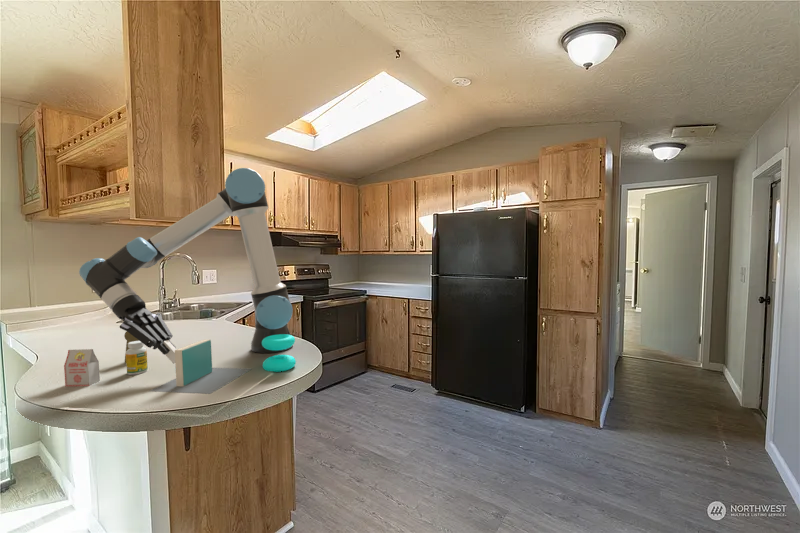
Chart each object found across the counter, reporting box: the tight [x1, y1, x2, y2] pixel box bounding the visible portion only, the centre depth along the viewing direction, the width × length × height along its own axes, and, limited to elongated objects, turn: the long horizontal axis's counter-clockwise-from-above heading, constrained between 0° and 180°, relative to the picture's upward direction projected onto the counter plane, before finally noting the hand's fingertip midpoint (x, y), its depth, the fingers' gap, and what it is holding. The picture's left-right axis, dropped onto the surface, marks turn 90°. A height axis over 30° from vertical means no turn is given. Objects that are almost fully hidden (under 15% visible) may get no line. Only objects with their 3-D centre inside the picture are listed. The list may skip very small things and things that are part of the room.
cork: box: [123, 331, 139, 365], centre depth 128 cm, size 6×6×11 cm
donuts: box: [262, 334, 297, 373], centre depth 117 cm, size 10×10×10 cm
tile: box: [174, 339, 213, 386], centre depth 107 cm, size 2×12×10 cm, turn 171°
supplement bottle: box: [125, 341, 149, 376], centre depth 116 cm, size 5×5×10 cm
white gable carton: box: [63, 348, 101, 387], centre depth 106 cm, size 4×7×10 cm, turn 90°
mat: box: [149, 367, 253, 395], centre depth 107 cm, size 18×20×1 cm
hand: (178, 359), depth 107 cm, fingers closed
